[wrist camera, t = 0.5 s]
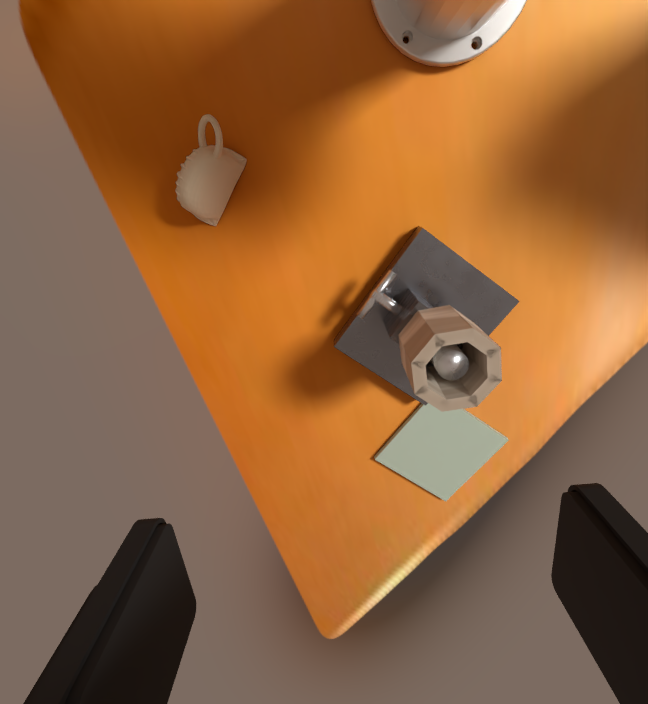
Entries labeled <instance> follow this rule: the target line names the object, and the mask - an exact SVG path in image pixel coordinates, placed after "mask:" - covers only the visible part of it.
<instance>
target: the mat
mask: <svg viewBox="0 0 648 704" xmlns="http://www.w3.org/2000/svg"><path fill="white" fill-rule="evenodd" d="M507 441H508V438H507V437H506V436H504V435H503V434H501V433H500V432H498V431H496V430H495V429H493V428H492V427H490V426H489V425H487V424H486V423H484V422H483V421H481V420H480V419H478V418H477V417H475V416H474V415H472V414H471V413H469V412H468V411H466V410H465V409H457V410H451V411H444V412H441V411H440V410H438V409H437V408H435V407H434V406H432V405H431V404H429V403H428V404H427V405H426V406H425V405H424V404H422V403H421V404H420V406H419V407H418V408H417V409H416V410H415V411H414V412H413V413H412V415H411V416H410V417H409V418H408V419H407V420H406V421H405V422H404V424H403V425H402V426H401V427H400V428H399V429H398V430H397V431H396V433H395V434H394V435H393V436H392V437H391V438H390V439H389V440H388V442H387V443H386V444H385V445H384V446H383V447H382V448H381V449H380V451H379V452H378V453H377V454H376V455H375V456H374V458H375V460H376V461H378V462H380V463H382V464H383V465H385V466H387V467H388V468H390V469H392V470H393V471H395V472H397V473H399V474H400V475H402V476H404V477H405V478H407V479H409V480H410V481H412V482H414V483H415V484H417V485H419V486H421V487H422V488H424V489H426V490H427V491H429V492H431V493H432V494H434V495H436V496H437V497H439V498H441V499H443V500H444V501H447V500H448V499H449V498H450V497H451V496H452V495H453V494H454V493H455V492H456V491H457V490H458V489H459V488H460V487H461V486H462V485H463V484H464V483H465V482H466V481H467V480H468V479H469V478H470V477H471V476H472V475H473V474H474V473H475V472H476V471H477V470H479V469H480V468H481V467H482V466H483V465H484V464H485V463H486V462H487V461H488V460H489V459H490V458H491V457H492V456H493V455H494V454H495V453H496V452H497V451H498V450H499V449H500V448H501V447H502V446H503V445H504V444H505V443H506V442H507Z"/></svg>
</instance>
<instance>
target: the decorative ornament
mask: <svg viewBox="0 0 648 704" xmlns="http://www.w3.org/2000/svg"><path fill="white" fill-rule="evenodd" d="M207 122H210V123H211V124H212V126H213V128H214V131H215V136H216V145H207V143H206V139H205V128H206V124H207ZM198 141H199V146H200V147H199V148H198V149H193V152H192V153H191V154H190V155H189V156H186V161H185V162H184V163H182V164H180V165H181V167H182V168H181V171H178V172H177V176H178V180H177V181H176V185H177V188H176V189H175V191H176V193H177V200H178V201H179V202H180V203H181V206H182V207H183V208H185V209H186V210H187V211H189V212H191V213H192V214H194V216H195V217H197V218H198V219H199V220H201V221H203V222H205V223H208V224H210V225H213V226H216V225H217V223H218V221H219V220H220V217H221V215H222V213H223V211H224V209H225V207H226V205H227V202H228V200H229V198H230V196H231V193H232V191H233V189H234V187H235V185H236V183H237V181H238V179H239V177H240V175H241V173H242V171H243V169H244V167H245V165H246V162H247V159H246V158H244V157H243V156H241V155H240V154H238V153H236V152H234V151H233V150H231V149H228V148H224V147H223V137H222V131H221V128H220V125H219V123H218V121H217V120H216V119H215V118H214V117H213V116H212V115H210V114H206V115H204V116H203V117H202V118H201V120H200V122H199V126H198Z"/></svg>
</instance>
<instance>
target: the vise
mask: <svg viewBox="0 0 648 704" xmlns="http://www.w3.org/2000/svg"><path fill="white" fill-rule="evenodd" d="M518 302H519V301H518V300H517V299H516V298H514V297H513V296H512V295H510V294H509V293H508V292H506V291H505V290H504V289H503V288H501V287H500V286H499V285H497V284H496V283H495V282H493V281H492V280H491V279H489V278H488V277H487V276H485V275H484V274H483V273H481V272H480V271H479V270H477V269H476V268H475V267H473V266H472V265H471V264H470V263H468V262H467V261H466V260H464V259H463V258H462V257H460V256H459V255H458V254H456V253H455V252H454V251H452V250H451V249H450V248H448V247H447V246H446V245H444V244H443V243H442V242H440V241H439V240H438V239H436V238H435V237H434V236H433V235H431V234H430V233H429V232H427V231H426V230H425V229H423V228H421V227H419V226H418V227H417V228H416V230H415V231H414V232H413V234H412V235H411V236H410V238H409V239H408V240H407V242H406V243H405V244H404V246H403V247H402V249H401V250H400V251H399V253H398V254H397V255H396V257H395V258H394V259H393V261H392V262H391V263H390V265H389V266H388V267H387V269H386V270H385V272H384V273H383V274H382V276H381V277H380V278H379V280H378V281H377V282H376V284H375V285H374V286H373V288H372V289H371V290H370V292H369V293H368V295H367V296H366V297H365V299H364V300H363V301H362V303H361V304H360V305H359V307H358V308H357V309H356V311H355V312H354V313H353V315H352V316H351V317H350V319H349V320H348V322H347V323H346V324H345V326H344V327H343V328H342V330H341V331H340V332H339V334H338V335H337V336H336V338H335V339H334V347H335V348H337V349H338V350H340V351H341V352H343V353H344V354H346V355H348V356H349V357H351V358H352V359H354V360H355V361H357V362H358V363H360V364H362V365H363V366H365V367H366V368H368V369H369V370H371V371H372V372H374V373H376V374H377V375H379V376H380V377H382V378H383V379H385V380H386V381H388V382H389V383H391V384H393V385H394V386H396V387H397V388H399V389H400V390H402V391H403V392H405V393H407V394H408V395H410V396H411V397H413V398H414V399H416V400H417V401H419V402H421V403H422V404H424V405H425V406H426V405H427V404H428V403H427V402H426V401H424V400H423V399H421V398H420V397H418V396H417V395H415V394H414V391H413V389H412V387H411V384H410V382H409V379H408V377H407V374H406V372H405V369H404V367H403V364H402V360H401V352H400V344H399V336H398V335H399V333H400V332H401V331H402V330H403V328H404V327H405V326H406V325H407V323H408V322H409V321H410V320H411V318H412V317H413V316H414V315H415V313H416V312H417V311H418V310H424V309H429V308H435V307H441V306H446V305H450V306H452V307H453V308H454V309H456V310H457V311H458V312H460V313H461V314H463V315H464V316H465V317H467V318H468V319H470V320H471V321H472V322H474V323H475V324H476V325H477V326H478V327H479V328H480V329H481V330H482V331H484V332H485V333H486V334H487V335H488V336H489V335H490V334H491V332H492V331H493V330H494V329H495V328H496V327H497V326H498V325H499V324H500V322H501V321H502V320H503V319H504V318H505V317H506V316H507V315H508V314H509V312H510V311H511V310H512V309H513V308H514V307H515V306H516V305H517V303H518ZM462 348H463V343H459V344H453V345H447V346H442V347H441V348H440V349H439V350H438V351H437V353H436V354H435V355H434V356H433V357H432V358H431V360H430V361H429V362H428V363H427V364H426V366H428V367H431V366H434V367H435V369H436V370H437V372H438V374H439V375H440V376H441V377H442V378H443V379H446V380H457V379H459V378H461V377H462V376H464V375H465V374H466V372H467V370H468V368H469V361H468V358H467V357H466V356H465V354H464V353H463V352H462V351H461V349H462Z"/></svg>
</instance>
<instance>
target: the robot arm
mask: <svg viewBox="0 0 648 704" xmlns="http://www.w3.org/2000/svg"><path fill="white" fill-rule="evenodd" d="M526 1H527V0H371V2H372V6H373V10H374V14H375V16H376V18H377V20H378V22H379V25H380V27H381V29H382V31H383V32H384V33H385V35H386V36H387V38H388V39H389V41H390V42H391V43H392V44H393V45H394V46H395V47H396V48H397V49H398V50H399V51H400V52H401V53H402V54H404V55H406V56H407V57H409V58H410V59H412V60H414V61H416V62H419V63H422V64H425V65H428V66H438V67H446V66H453V65H459V64H461V63H464V62H467V61H470V60H472V59H474V58H476V57H477V56H479V55H481V54H482V53H484V52H485V51H487V50H488V49H489V48H490V47H492V46H493V45H494V44H495V43H496V42H498V41H499V39H500V38H501V37H502V36H503V35H504V34H505V33H506V32H507V31H508V30H509V29H510V28H511V26H512V25H513V23H514V22H515V21H516V19H517V18H518V16H519V15H520V13H521V11H522V9H523V7H524V5H525V3H526ZM405 37H406V38H408V41H409V42H408V43H407V44H405V43H404V42H403V38H405ZM472 43H474V44H475V45H476V49H473V48H472V47H471V44H472ZM552 583H553V586H554V589H555V591H556V593H557V595H558V597H559V598H560V600H561V602H562V604H563V605H564V607H565V609H566V611H567V612H568V614H569V616H570V618H571V619H572V621H573V623H574V624H575V626H576V628H577V630H578V631H579V633H580V635H581V637H582V638H583V640H584V642H585V644H586V645H587V647H588V649H589V650H590V652H591V654H592V656H593V657H594V659H595V661H596V663H597V664H598V666H599V668H600V670H601V671H602V673H603V675H604V677H605V678H606V680H607V682H608V684H609V685H610V687H611V688H612V690H613V692H614V694H615V696H616V697H617V699H618V701H619V703H620V704H648V533H647V532H646V531H645V530H644V529H643V528H642V527H641V526H640V524H639V523H638V522H637V521H636V520H635V519H634V518H633V517H632V516H631V515H630V514H629V513H628V512H627V511H626V510H625V509H624V508H623V507H622V505H621V504H620V503H619V502H618V501H617V500H616V499H615V498H614V497H613V496H612V495H611V494H610V493H609V492H608V491H607V490H606V489H605V488H604V487H603V486H602V485H601V484H598V483H594V484H581V485H571V486H570V487H569V489H568V492H565V493H563V494H562V498H561V505H560V513H559V521H558V528H557V536H556V544H555V552H554V559H553V567H552ZM195 613H196V599H195V596H194V593H193V589H192V586H191V583H190V580H189V577H188V574H187V571H186V568H185V564H184V561H183V558H182V555H181V552H180V549H179V546H178V543H177V539H176V536H175V533H174V530H173V527H172V525H171V524H166V522H165V520H164V519H163V518H156V519H143V520H138V521H136V522H135V523H134V525H133V526H132V528H131V530H130V532H129V533H128V535H127V536H126V538H125V540H124V541H123V543H122V545H121V546H120V548H119V550H118V552H117V553H116V555H115V557H114V558H113V560H112V562H111V563H110V565H109V567H108V568H107V570H106V572H105V573H104V575H103V577H102V578H101V580H100V582H99V583H98V585H97V586H95V587H94V589H93V590H92V591H91V593H90V594H89V596H88V597H87V599H86V601H85V602H84V604H83V606H82V607H81V609H80V611H79V612H78V614H77V616H76V617H75V619H74V621H73V622H72V624H71V626H70V627H69V629H68V631H67V633H66V634H65V636H64V637H63V639H62V641H61V642H60V644H59V646H58V647H57V649H56V650H55V652H54V654H53V656H52V657H51V659H50V660H49V662H48V664H47V665H46V667H45V669H44V670H43V672H42V674H41V675H40V677H39V679H38V681H37V682H36V684H35V685H34V687H33V689H32V690H31V692H30V694H29V695H28V697H27V699H26V700H25V702H24V704H167V702H168V699H169V696H170V693H171V690H172V687H173V684H174V680H175V677H176V674H177V671H178V668H179V665H180V661H181V658H182V655H183V652H184V649H185V646H186V643H187V640H188V636H189V633H190V630H191V627H192V624H193V621H194V618H195Z"/></svg>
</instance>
